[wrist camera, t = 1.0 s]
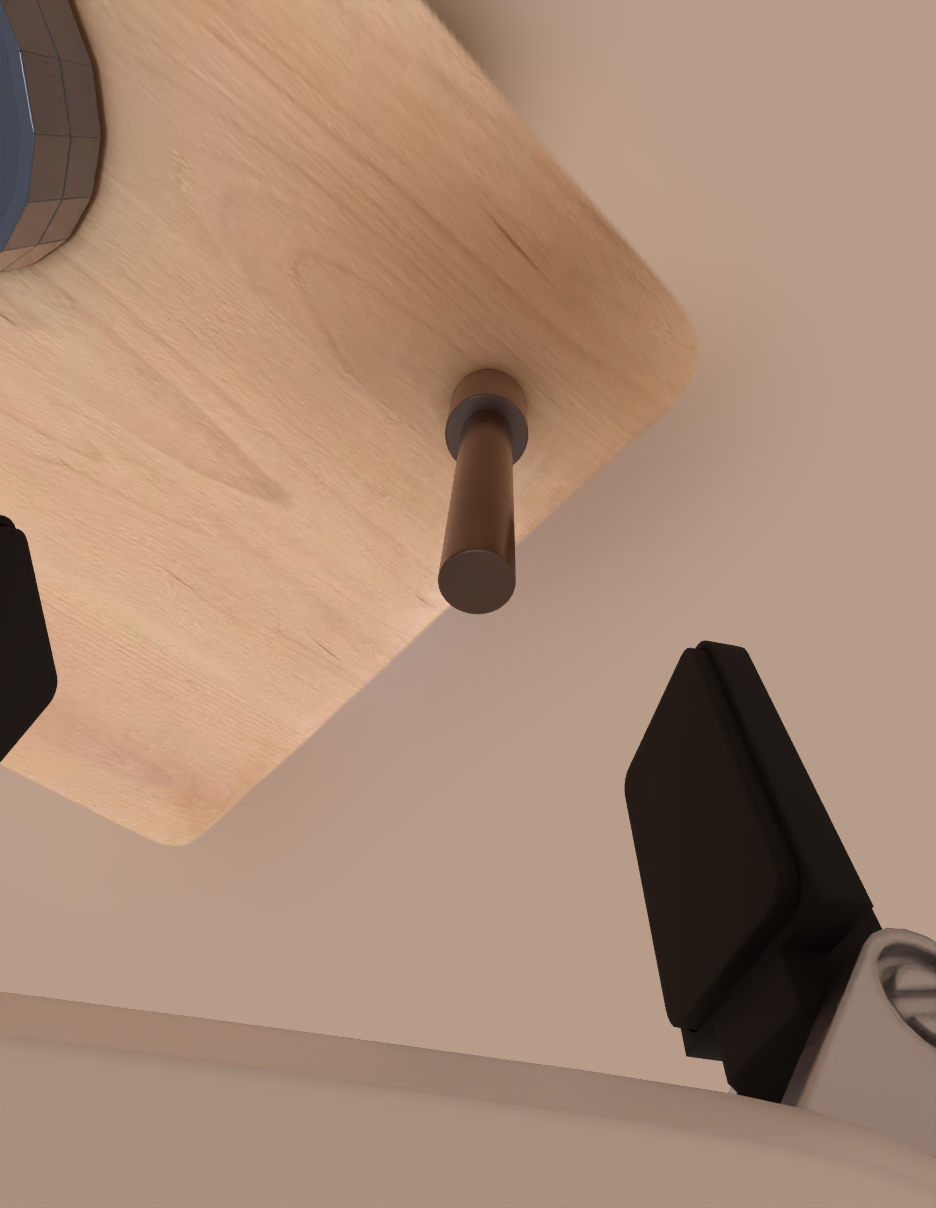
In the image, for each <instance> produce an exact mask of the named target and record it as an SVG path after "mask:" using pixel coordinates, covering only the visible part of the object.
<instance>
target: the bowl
mask: <svg viewBox="0 0 936 1208" xmlns="http://www.w3.org/2000/svg"><path fill="white" fill-rule="evenodd" d="M100 137H101V131H100V123H99V115H98V107H97V99H96V91H95V83H94V75H93V68H92V64H91V61H90V59H89V56H88V53H87V50H86V48H85V45H84V42H83V40H82V37H81V34H80V31H79V29H78V26H77V23H76V20H75V18H74V15H73V12H72V10H71V7H70V4H69V1H68V0H0V272H4V271H8V270H13V269H17V268H22V267H26V266H30V265H32V264H34V263H35V262H37V261H38V260H39V259H41V258H42V257H44V256H45V255H46V254H48V253H49V252H51V251H52V250H54V249H55V248H56V247H58V246H59V245H61V244H62V243H63V242H65V241H66V240H67V238H69V236H70V234H71V232H72V231H73V229H74V227H75V225H76V224H77V222H78V220H79V218H80V216H81V215H82V213H83V211H84V209H85V208H86V206H87V204H88V202H89V201H90V199H91V195H92V193H93V186H94V180H95V173H96V167H97V161H98V154H99V148H100V141H101V138H100Z"/></svg>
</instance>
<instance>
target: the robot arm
mask: <svg viewBox="0 0 936 1208" xmlns="http://www.w3.org/2000/svg"><path fill="white" fill-rule="evenodd" d="M56 688H57V674H56V669H55V665H54V660H53V656H52V651H51V646H50V642H49V637H48V633H47V628H46V624H45V619H44V615H43V610H42V606H41V601H40V596H39V592H38V587H37V583H36V578H35V574H34V569H33V565H32V560H31V556H30V551H29V546H28V542H27V539H26V536H25V534H24V533H23V532H22V531H21V530H19V529H16V528H15V525H14V523H13V522H12V521H11V520H10V519H9V518H7V517H5V516H2V515H0V762H1V761H2V760H3V758H4V757H5V756H6V755H7V754H8V752H9V751H10V750H11V749H12V748H13V746H14V745H15V744H16V743H17V742H18V740H19V739H20V738H21V737H22V736H23V735H24V733H25V732H26V731H27V730H28V729H29V727H30V726H31V725H32V724H33V723H34V721H35V720H36V719H37V718H38V717H39V715H40V714H41V713H42V712H43V711H44V709H45V708H46V707H47V706H48V705H49V703H50V702H51V700H52V699H53V697H54V694H55V692H56ZM625 798H626V803H627V808H628V813H629V819H630V824H631V829H632V835H633V840H634V845H635V850H636V856H637V861H638V866H639V871H640V876H641V882H642V887H643V892H644V898H645V903H646V908H647V913H648V918H649V923H650V929H651V934H652V939H653V945H654V950H655V955H656V960H657V966H658V971H659V976H660V981H661V987H662V992H663V996H664V1002H665V1007H666V1012H667V1016H668V1018H669V1020H670V1023H671V1024H672V1025H673V1026H674V1027H678V1028H681V1032H682V1036H683V1042H684V1047H685V1052H686V1056H688V1057H695V1058H703V1059H710V1060H718V1061H723V1065H724V1069H725V1074H726V1077H727V1082H728V1084H729V1085H730V1086H731V1088H730V1090H729V1092H728V1093H724V1092H718V1091H711V1090H705V1089H699V1088H692V1087H686V1086H680V1085H674V1084H667V1083H660V1082H654V1081H647V1080H642V1079H635V1078H628V1077H622V1076H616V1075H610V1074H604V1073H597V1072H591V1071H584V1070H577V1069H570V1068H562V1067H555V1066H548V1065H541V1064H534V1063H526V1062H519V1061H511V1060H505V1059H497V1058H490V1057H483V1056H475V1055H469V1054H461V1053H454V1052H447V1051H439V1050H432V1049H425V1048H418V1047H411V1046H403V1045H396V1044H389V1043H382V1042H374V1041H367V1040H360V1039H353V1038H346V1037H338V1036H330V1035H323V1034H316V1033H308V1032H300V1031H293V1030H285V1029H278V1028H271V1027H263V1026H255V1025H248V1024H241V1023H233V1022H226V1021H218V1020H210V1019H203V1018H196V1017H188V1016H180V1015H173V1014H166V1013H158V1012H151V1011H143V1010H135V1009H128V1008H119V1007H113V1006H105V1005H97V1004H90V1003H83V1002H75V1001H67V1000H59V999H52V998H45V997H37V996H29V995H21V994H13V993H6V992H0V1208H936V942H935V941H934V940H932V939H930V938H928V937H926V936H924V935H921V934H918V933H915V932H912V931H909V930H906V929H894V928H885V929H883V930H882V928H881V926H880V924H879V922H878V920H877V918H876V916H875V914H874V912H873V910H872V907H873V904H872V902H871V900H870V898H869V896H868V894H867V892H866V890H865V888H864V886H863V884H862V882H861V880H860V878H859V876H858V874H857V872H856V870H855V868H854V866H853V864H852V862H851V860H850V858H849V856H848V854H847V852H846V850H845V848H844V846H843V844H842V842H841V840H840V838H839V836H838V834H837V832H836V830H835V828H834V826H833V824H832V822H831V820H830V818H829V815H828V813H827V811H826V809H825V807H824V805H823V803H822V801H821V799H820V797H819V795H818V794H817V791H816V789H815V787H814V785H813V783H812V781H811V779H810V777H809V775H808V773H807V771H806V769H805V767H804V765H803V763H802V761H801V759H800V757H799V755H798V753H797V751H796V749H795V747H794V745H793V743H792V741H791V739H790V737H789V735H788V733H787V731H786V729H785V727H784V725H783V723H782V721H781V719H780V717H779V715H778V713H777V711H776V709H775V707H774V705H773V703H772V700H771V698H770V697H769V695H768V692H767V690H766V688H765V686H764V684H763V682H762V680H761V678H760V676H759V674H758V672H757V670H756V668H755V666H754V664H753V662H752V660H751V658H750V656H749V654H748V653H747V651H746V650H745V649H744V648H742V647H739V646H734V645H728V644H722V643H717V642H711V641H702V642H700V643H699V644H698V645H697V647H696V648H695V649H694V648H687V649H686V650H685V651H684V652H683V654H682V656H681V657H680V660H679V662H678V664H677V666H676V668H675V670H674V673H673V675H672V677H671V679H670V681H669V683H668V685H667V687H666V690H665V692H664V694H663V696H662V698H661V700H660V703H659V705H658V707H657V709H656V711H655V713H654V715H653V717H652V720H651V722H650V724H649V726H648V728H647V730H646V732H645V734H644V737H643V739H642V741H641V743H640V745H639V747H638V749H637V752H636V754H635V756H634V758H633V760H632V762H631V764H630V767H629V769H628V771H627V774H626V779H625Z"/></svg>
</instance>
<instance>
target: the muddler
mask: <svg viewBox="0 0 936 1208" xmlns="http://www.w3.org/2000/svg"><path fill="white" fill-rule="evenodd" d="M445 439H446V444H447V447H448V450H449V452H450V454H451V455H452V457H453V458H454V459H455V460H456V469H455V475H454V481H453V487H452V494H451V500H450V506H449V512H448V519H447V525H446V531H445V537H444V544H443V550H442V556H441V562H440V569H439V575H438V585H439V589H440V592H441V594H442V596H443V597H444V598H445V600H446V601H447V602H448V603H449V604H450V605H451V606H453V607H454V608H456V609H458V610H460V611H463V612H466V613H470V614H485V613H489V612H493V611H495V610H497V609H499V608H500V607H502V606H503V605H504V604H505V603H507V602H508V600H509V599H510V598H511V596H512V594H513V592H514V589H515V584H516V583H515V582H516V576H515V535H514V496H513V465H514V464H515V463H516V462H517V461H518V460H519V459H520V457H521V456H522V454H523V452H524V450H525V448H526V445H527V441H528V425H527V413H526V402H525V397H524V394H523V391H522V389H521V387H520V386H519V385H518V383H517V382H516V381H515V380H514V379H513V378H512V377H510V376H509V375H507V374H506V373H503V372H501V371H497V370H491V369H486V370H480V371H476V372H474V373H472V374H470V375H468V376H467V377H465V378H464V379H463V380H462V381H461V382H460V383H459V385H458V386H457V388H456V389H455V391H454V394H453V397H452V401H451V406H450V410H449V415H448V419H447V424H446V429H445Z"/></svg>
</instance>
